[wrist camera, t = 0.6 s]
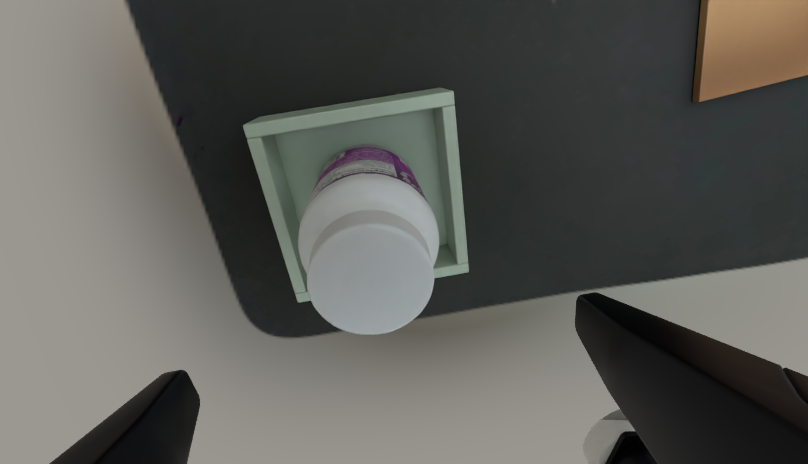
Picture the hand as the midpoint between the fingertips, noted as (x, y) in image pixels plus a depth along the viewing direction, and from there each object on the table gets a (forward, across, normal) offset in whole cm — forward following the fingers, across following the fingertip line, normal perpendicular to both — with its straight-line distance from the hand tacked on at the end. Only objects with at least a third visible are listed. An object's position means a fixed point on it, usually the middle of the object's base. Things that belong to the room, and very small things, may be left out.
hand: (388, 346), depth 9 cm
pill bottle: (+13, 0, 0) cm, 13 cm away
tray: (+13, 0, 0) cm, 13 cm away
